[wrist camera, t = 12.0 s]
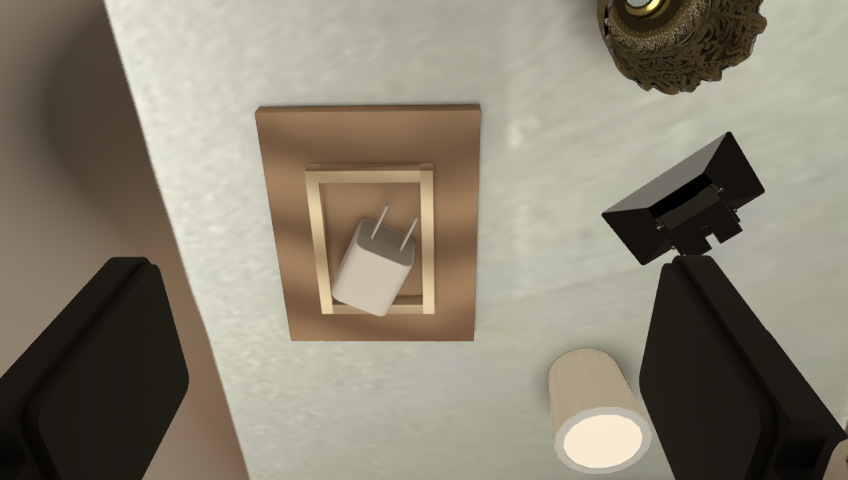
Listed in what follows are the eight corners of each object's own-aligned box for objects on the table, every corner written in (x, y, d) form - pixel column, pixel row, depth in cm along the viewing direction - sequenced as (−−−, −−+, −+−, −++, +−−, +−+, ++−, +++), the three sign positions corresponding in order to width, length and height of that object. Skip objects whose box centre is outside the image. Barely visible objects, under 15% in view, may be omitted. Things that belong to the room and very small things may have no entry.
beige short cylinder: (627, 400, 50) (653, 470, 44) (544, 411, 51) (558, 480, 45) (624, 336, 47) (651, 401, 41) (536, 348, 48) (549, 414, 42)
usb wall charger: (338, 264, 43) (329, 297, 39) (376, 184, 40) (370, 212, 36) (390, 285, 44) (385, 319, 40) (431, 208, 40) (430, 237, 37)
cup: (695, 54, 36) (755, 91, 29) (571, 61, 37) (601, 100, 30) (716, -87, 33) (790, -82, 26) (578, -77, 33) (615, -70, 26)
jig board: (259, 106, 39) (249, 119, 36) (479, 104, 38) (481, 116, 36) (294, 331, 47) (287, 351, 45) (473, 331, 47) (474, 351, 45)
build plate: (627, 279, 45) (646, 317, 41) (574, 212, 42) (588, 245, 38) (788, 183, 41) (826, 214, 37) (741, 101, 38) (776, 125, 34)
